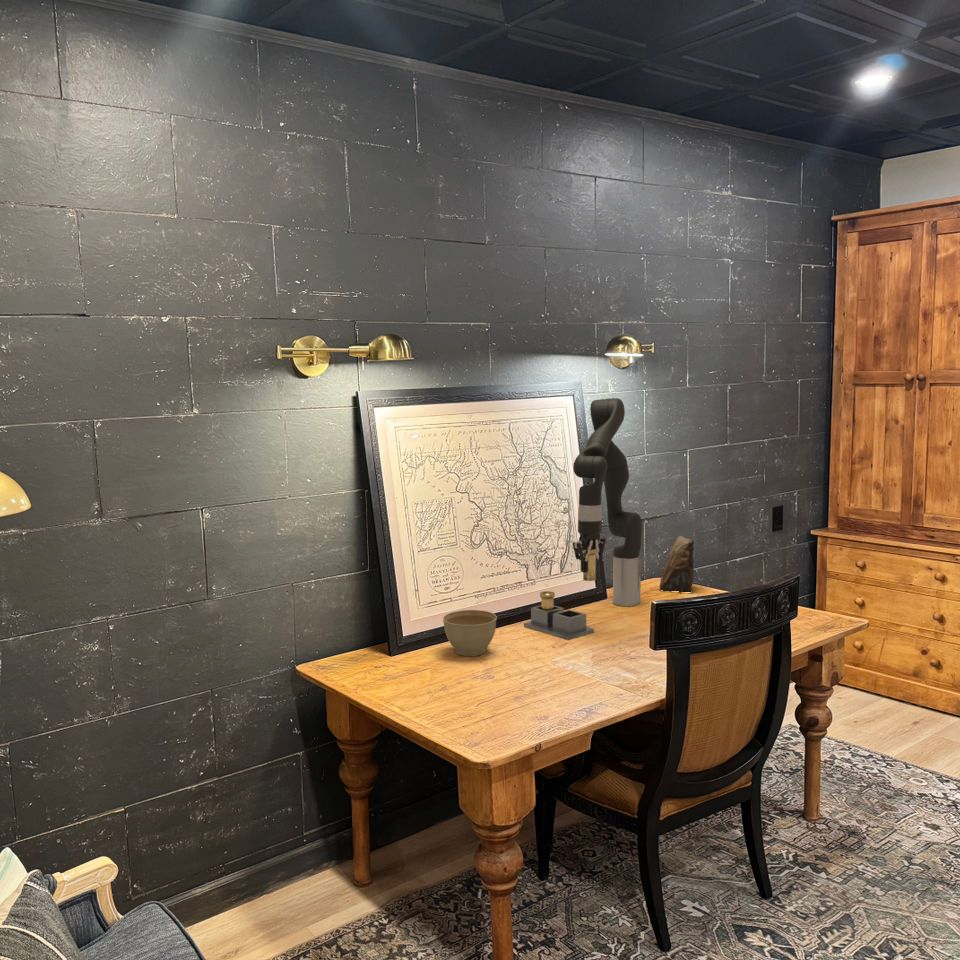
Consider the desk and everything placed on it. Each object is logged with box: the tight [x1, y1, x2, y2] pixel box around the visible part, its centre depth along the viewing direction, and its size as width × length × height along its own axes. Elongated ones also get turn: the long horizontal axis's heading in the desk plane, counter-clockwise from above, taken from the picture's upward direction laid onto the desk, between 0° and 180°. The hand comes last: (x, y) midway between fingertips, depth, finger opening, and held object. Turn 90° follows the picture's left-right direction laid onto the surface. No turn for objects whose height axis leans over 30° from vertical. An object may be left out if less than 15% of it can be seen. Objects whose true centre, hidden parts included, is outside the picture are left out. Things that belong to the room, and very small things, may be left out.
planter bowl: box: [442, 609, 498, 657], centre depth 273 cm, size 16×16×11 cm
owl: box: [659, 534, 695, 592], centre depth 344 cm, size 13×13×20 cm
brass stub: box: [582, 549, 597, 582], centre depth 291 cm, size 5×5×10 cm
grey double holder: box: [523, 590, 595, 641], centre depth 295 cm, size 12×20×11 cm, turn 41°
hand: (589, 571), depth 291 cm, fingers closed on brass stub, 4 cm apart
